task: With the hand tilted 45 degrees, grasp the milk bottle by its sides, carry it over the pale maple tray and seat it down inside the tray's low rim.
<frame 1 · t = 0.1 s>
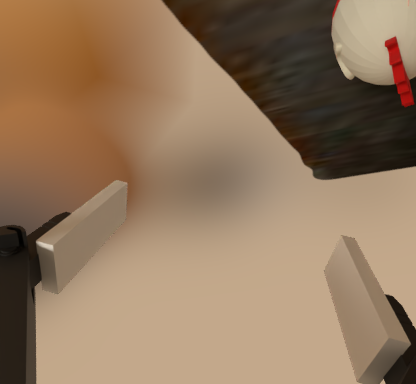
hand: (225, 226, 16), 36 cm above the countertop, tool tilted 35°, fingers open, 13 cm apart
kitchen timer: (390, 9, 35), on the countertop
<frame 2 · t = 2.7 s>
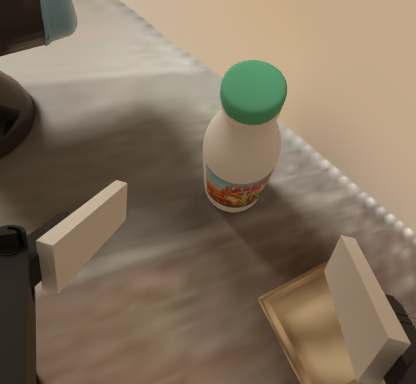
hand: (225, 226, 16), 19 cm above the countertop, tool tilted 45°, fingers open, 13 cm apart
seat tray: (327, 324, 31), on the countertop
milk bottle: (232, 187, 37), on the countertop
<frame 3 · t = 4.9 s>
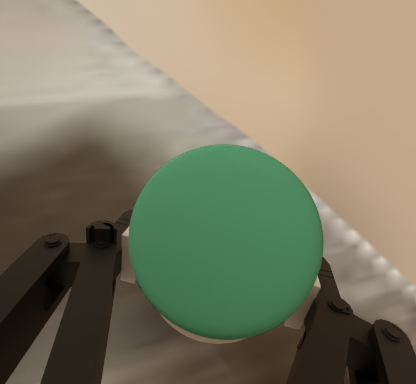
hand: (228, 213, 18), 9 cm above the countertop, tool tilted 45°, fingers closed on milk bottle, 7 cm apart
milk bottle: (214, 273, 25), on the countertop, touching gripper
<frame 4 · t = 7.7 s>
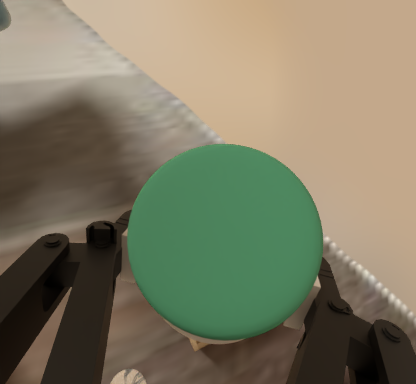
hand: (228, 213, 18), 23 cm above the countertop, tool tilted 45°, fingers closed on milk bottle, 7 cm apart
milk bottle: (214, 273, 25), point 15 cm above the countertop, touching gripper
when the fingers open (11 cm above the countertop, at t = 10.4 s): milk bottle drops 1 cm, resting on seat tray.
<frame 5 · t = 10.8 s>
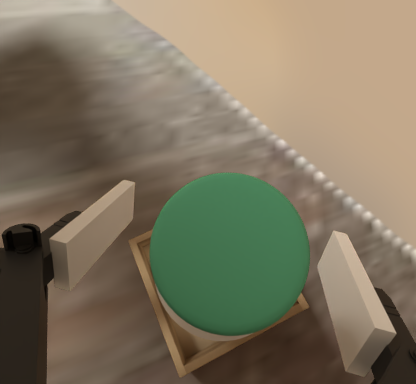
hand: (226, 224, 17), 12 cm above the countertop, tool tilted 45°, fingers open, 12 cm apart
seat tray: (214, 274, 27), on the countertop
milk bottle: (216, 275, 26), point 1 cm above the countertop, touching seat tray
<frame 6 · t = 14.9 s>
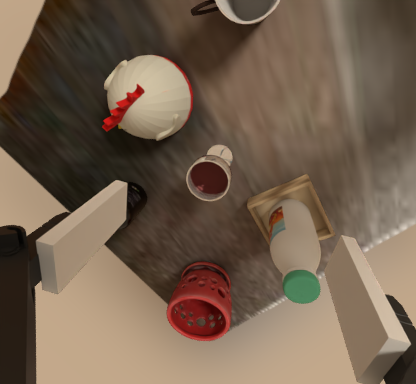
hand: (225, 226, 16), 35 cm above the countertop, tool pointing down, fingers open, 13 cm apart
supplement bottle: (133, 195, 58), on the countertop
seat tray: (289, 211, 53), on the countertop
milk bottle: (288, 214, 52), point 1 cm above the countertop, touching seat tray
wineglass: (219, 157, 51), on the countertop
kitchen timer: (156, 98, 49), on the countertop
plant pot: (208, 278, 64), on the countertop
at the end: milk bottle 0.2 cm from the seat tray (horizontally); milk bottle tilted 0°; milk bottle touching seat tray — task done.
